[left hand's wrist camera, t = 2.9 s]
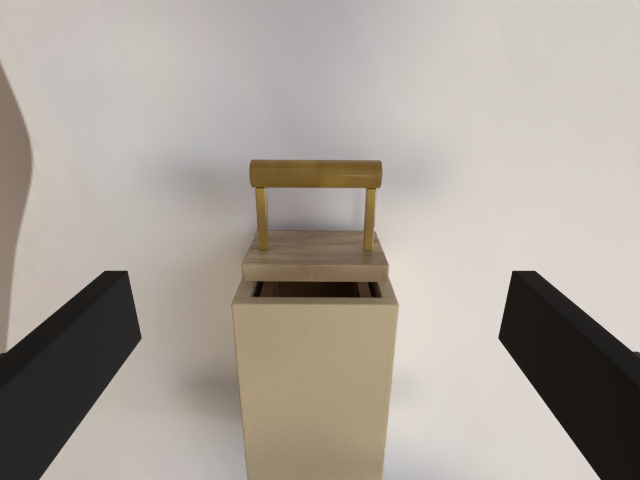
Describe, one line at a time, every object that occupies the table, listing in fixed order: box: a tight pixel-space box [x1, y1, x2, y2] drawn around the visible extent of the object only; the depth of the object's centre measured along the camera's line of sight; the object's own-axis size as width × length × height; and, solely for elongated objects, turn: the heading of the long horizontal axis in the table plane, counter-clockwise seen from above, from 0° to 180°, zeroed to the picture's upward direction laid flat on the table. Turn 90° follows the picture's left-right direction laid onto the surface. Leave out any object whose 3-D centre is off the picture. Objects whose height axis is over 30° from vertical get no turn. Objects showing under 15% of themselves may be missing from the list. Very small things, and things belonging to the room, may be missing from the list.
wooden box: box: [232, 277, 399, 480], centre depth 29 cm, size 18×10×8 cm, turn 0°
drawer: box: [242, 160, 389, 298], centre depth 27 cm, size 23×9×6 cm, turn 0°
